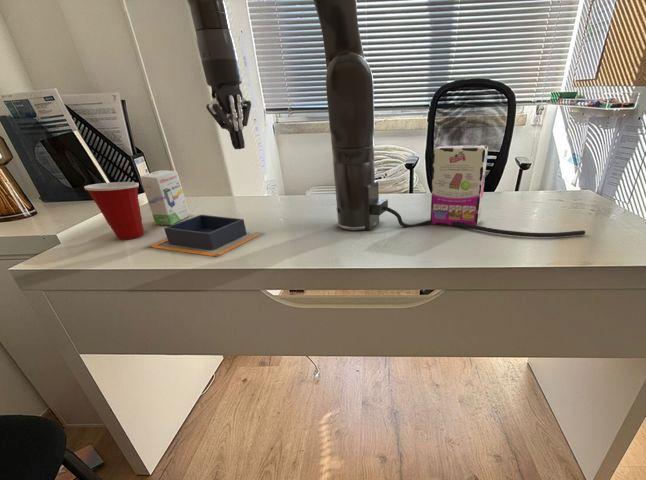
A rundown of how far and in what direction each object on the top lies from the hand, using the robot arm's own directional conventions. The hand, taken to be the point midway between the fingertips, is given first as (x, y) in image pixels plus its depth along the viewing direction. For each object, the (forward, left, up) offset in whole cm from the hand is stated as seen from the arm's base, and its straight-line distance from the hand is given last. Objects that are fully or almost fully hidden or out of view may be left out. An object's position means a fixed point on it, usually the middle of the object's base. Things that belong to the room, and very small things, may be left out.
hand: (239, 148), depth 92 cm
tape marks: (0, +17, -17) cm, 24 cm away
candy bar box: (-51, -11, -17) cm, 55 cm away
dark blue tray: (0, +16, -17) cm, 23 cm away
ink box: (+21, +7, -17) cm, 28 cm away
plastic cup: (+21, +20, -17) cm, 34 cm away
